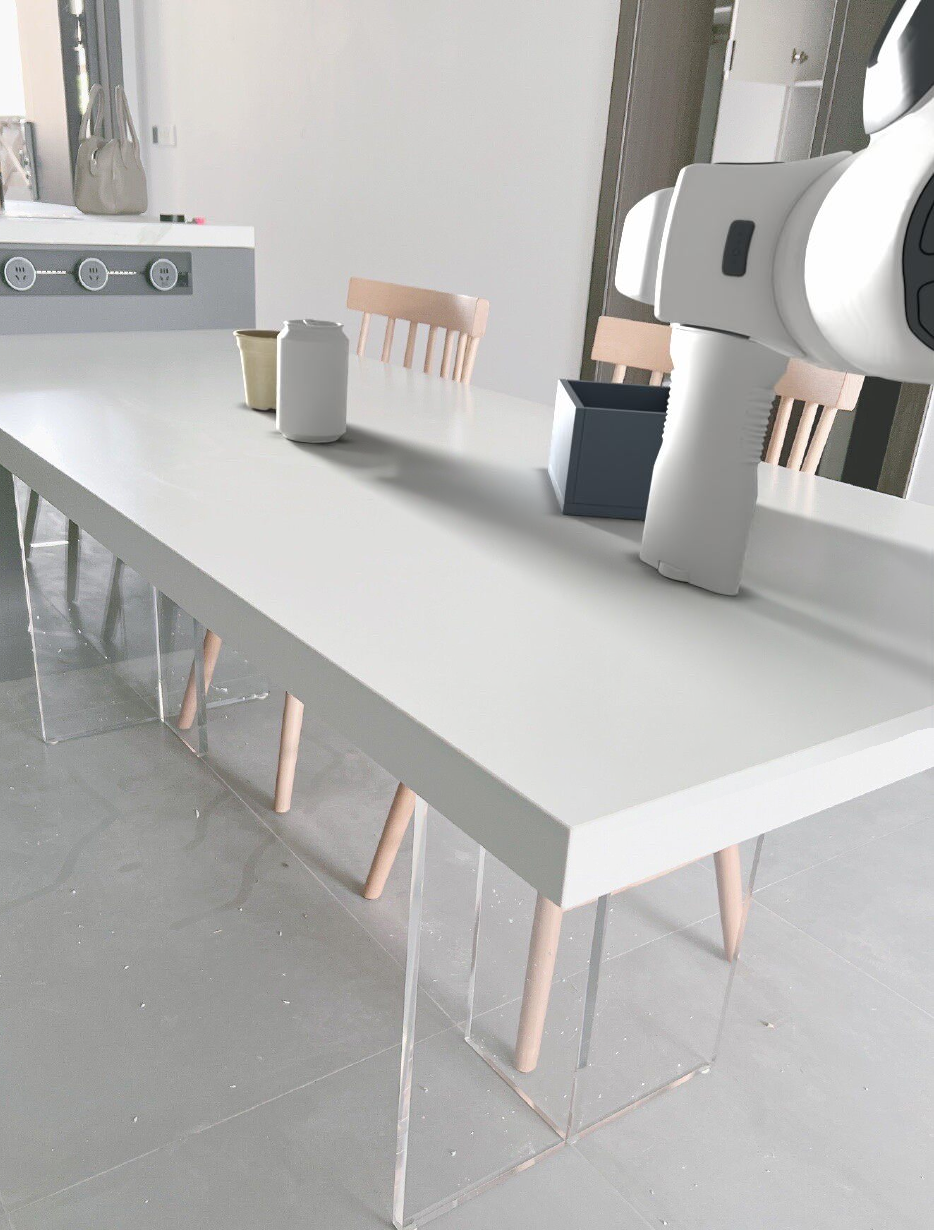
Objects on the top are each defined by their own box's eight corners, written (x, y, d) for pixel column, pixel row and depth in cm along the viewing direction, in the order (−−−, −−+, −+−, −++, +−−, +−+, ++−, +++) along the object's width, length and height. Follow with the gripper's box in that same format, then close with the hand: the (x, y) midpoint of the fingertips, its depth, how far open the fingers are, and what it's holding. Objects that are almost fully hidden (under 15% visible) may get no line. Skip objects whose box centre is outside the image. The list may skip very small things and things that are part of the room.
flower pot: (321, 406, 134) (323, 334, 131) (295, 417, 126) (296, 340, 122) (251, 398, 136) (252, 327, 133) (221, 408, 128) (221, 333, 124)
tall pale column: (617, 556, 81) (665, 242, 72) (658, 551, 83) (710, 245, 74) (717, 600, 73) (786, 252, 63) (760, 594, 74) (833, 254, 65)
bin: (662, 478, 107) (677, 386, 104) (696, 524, 91) (715, 417, 88) (547, 470, 108) (558, 378, 104) (562, 514, 92) (575, 407, 88)
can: (289, 445, 111) (291, 324, 106) (267, 431, 117) (268, 316, 112) (355, 443, 114) (360, 325, 109) (331, 429, 120) (334, 317, 115)
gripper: (1147, 210, 43) (1006, 236, 56) (648, 158, 45) (621, 194, 58) (1096, 370, 46) (971, 359, 59) (621, 316, 47) (601, 317, 60)
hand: (794, 277), depth 58 cm, fingers open, 8 cm apart
